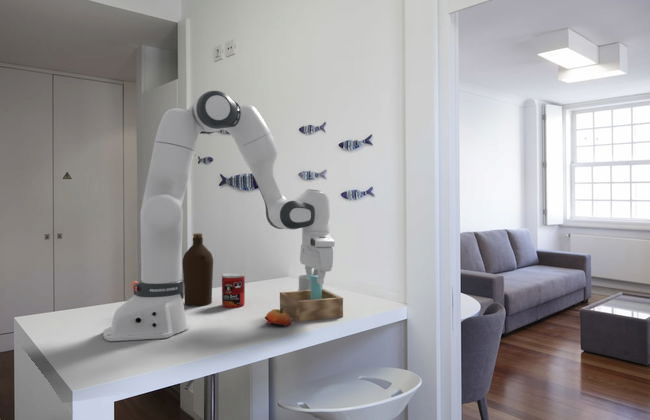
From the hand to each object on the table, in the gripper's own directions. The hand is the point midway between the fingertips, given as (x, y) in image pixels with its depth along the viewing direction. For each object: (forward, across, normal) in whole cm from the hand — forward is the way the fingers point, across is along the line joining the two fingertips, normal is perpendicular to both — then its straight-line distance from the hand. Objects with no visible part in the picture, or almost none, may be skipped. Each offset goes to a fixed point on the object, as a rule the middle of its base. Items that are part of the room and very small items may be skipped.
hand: (314, 281), depth 153 cm
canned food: (+11, -21, -22) cm, 33 cm away
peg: (+10, 0, +1) cm, 10 cm away
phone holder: (+10, -28, +11) cm, 31 cm away
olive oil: (+11, -29, -33) cm, 46 cm away
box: (+10, 0, -1) cm, 10 cm away
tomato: (+11, +8, -15) cm, 20 cm away
